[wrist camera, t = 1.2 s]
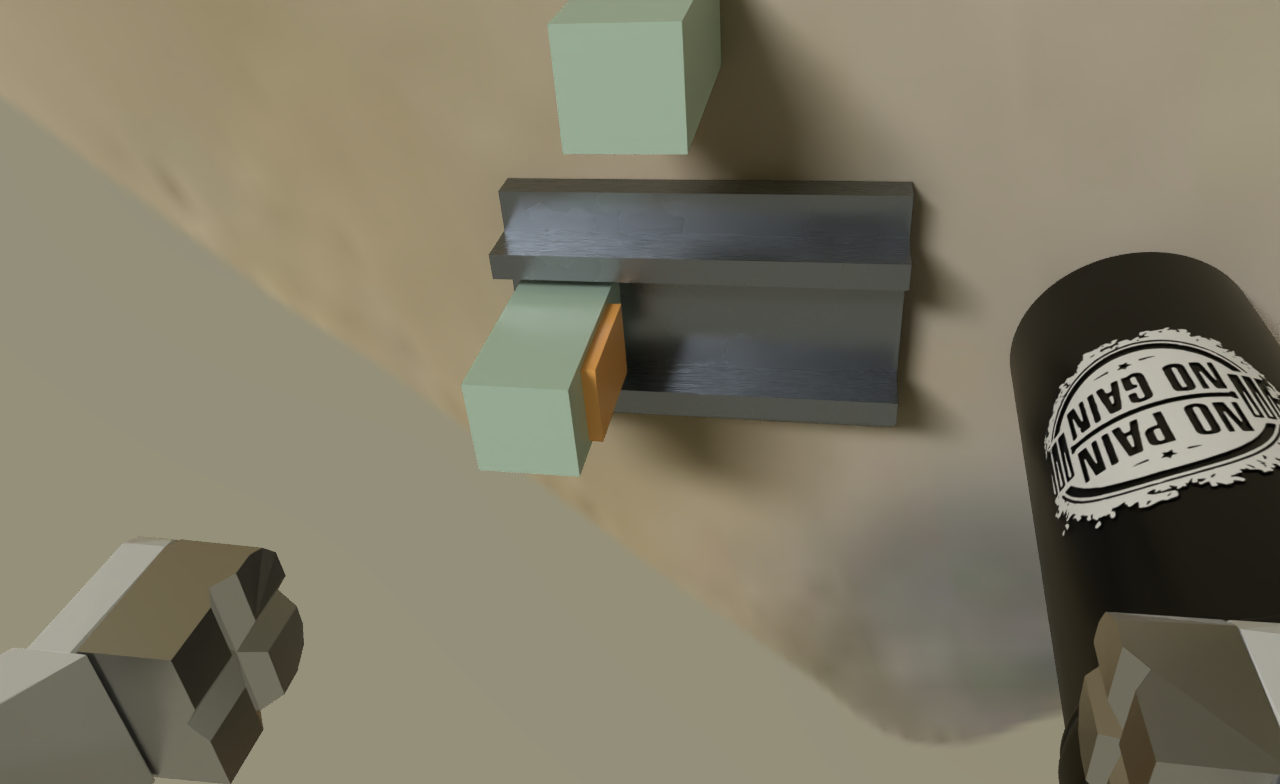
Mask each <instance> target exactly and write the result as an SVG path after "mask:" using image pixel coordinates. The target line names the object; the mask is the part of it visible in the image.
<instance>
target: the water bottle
mask: <svg viewBox="0 0 1280 784" xmlns="http://www.w3.org/2000/svg"><path fill="white" fill-rule="evenodd" d="M1010 368H1011V375H1012V382H1013V388H1014V395H1015V402H1016V408H1017V415H1018V421H1019V428H1020V434H1021V441H1022V448H1023V454H1024V461H1025V467H1026V474H1027V480H1028V487H1029V494H1030V500H1031V507H1032V513H1033V520H1034V527H1035V533H1036V540H1037V546H1038V553H1039V559H1040V566H1041V573H1042V579H1043V586H1044V592H1045V599H1046V605H1047V612H1048V619H1049V625H1050V632H1051V638H1052V645H1053V652H1054V658H1055V665H1056V671H1057V678H1058V684H1059V691H1060V698H1061V704H1062V711H1063V717H1064V724H1065V730H1064V733H1063V737H1062V740H1061V746H1060V760H1059V769H1058V770H1059V771H1058V774H1059V784H1089V783H1088V782H1087V781H1086V779H1085V774H1084V769H1083V764H1082V759H1081V753H1080V744H1079V734H1078V723H1079V701H1080V696H1081V691H1082V687H1083V682H1084V677H1085V675H1087V674H1088V673H1090V672H1091V671H1093V670H1094V669H1096V668H1097V667H1099V663H1098V659H1097V655H1096V650H1095V646H1094V638H1095V634H1096V631H1097V627H1098V623H1099V621H1100V619H1101V618H1102V616H1103V615H1104V613H1105V612H1116V613H1130V614H1145V615H1160V616H1175V617H1189V618H1204V619H1219V620H1224V621H1226V622H1227V621H1229V620H1237V621H1252V622H1267V623H1280V345H1279V344H1278V342H1277V341H1276V340H1275V338H1274V337H1273V335H1272V334H1271V332H1270V331H1269V329H1268V328H1267V327H1266V325H1265V324H1264V322H1263V321H1262V319H1261V318H1260V316H1259V315H1258V314H1257V312H1256V311H1255V309H1254V308H1253V306H1252V305H1251V303H1250V302H1249V300H1248V299H1247V298H1246V296H1245V295H1244V293H1243V292H1242V290H1241V289H1240V288H1239V287H1238V286H1237V285H1236V283H1235V282H1234V281H1232V280H1231V279H1230V278H1229V277H1228V276H1227V275H1225V274H1224V273H1223V272H1221V271H1220V270H1218V269H1216V268H1215V267H1213V266H1211V265H1209V264H1207V263H1204V262H1202V261H1199V260H1197V259H1194V258H1190V257H1187V256H1182V255H1177V254H1171V253H1161V252H1141V253H1131V254H1124V255H1119V256H1114V257H1110V258H1106V259H1103V260H1100V261H1097V262H1094V263H1091V264H1089V265H1086V266H1084V267H1082V268H1080V269H1078V270H1076V271H1074V272H1072V273H1070V274H1068V275H1067V276H1065V277H1063V278H1062V279H1060V280H1059V281H1057V282H1056V283H1055V284H1053V285H1052V286H1051V287H1050V288H1048V289H1047V290H1046V291H1045V292H1044V293H1043V294H1042V295H1041V296H1040V297H1039V298H1038V299H1037V300H1036V301H1035V302H1034V303H1033V304H1032V305H1031V307H1030V308H1029V309H1028V311H1027V312H1026V314H1025V315H1024V317H1023V318H1022V320H1021V322H1020V324H1019V326H1018V328H1017V330H1016V333H1015V335H1014V338H1013V342H1012V346H1011V353H1010Z"/></svg>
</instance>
